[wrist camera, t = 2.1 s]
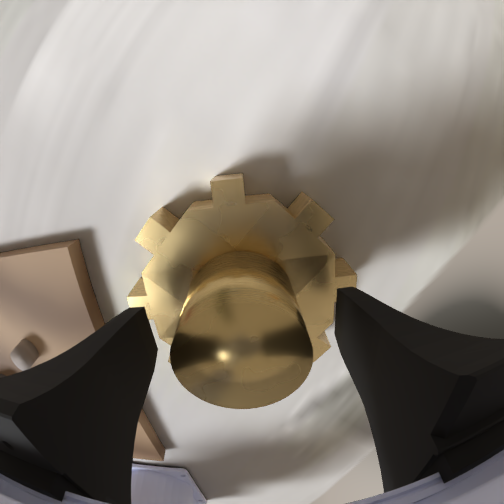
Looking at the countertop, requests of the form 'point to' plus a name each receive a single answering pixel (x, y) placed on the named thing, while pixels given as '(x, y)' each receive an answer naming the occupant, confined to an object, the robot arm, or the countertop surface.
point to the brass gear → (241, 292)
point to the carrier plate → (53, 316)
